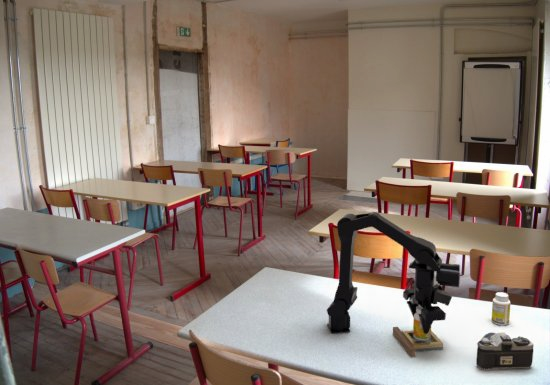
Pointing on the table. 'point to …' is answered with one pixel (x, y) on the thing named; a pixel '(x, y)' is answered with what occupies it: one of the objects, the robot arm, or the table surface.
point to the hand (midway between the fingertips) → (422, 329)
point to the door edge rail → (404, 342)
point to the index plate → (424, 342)
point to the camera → (504, 352)
